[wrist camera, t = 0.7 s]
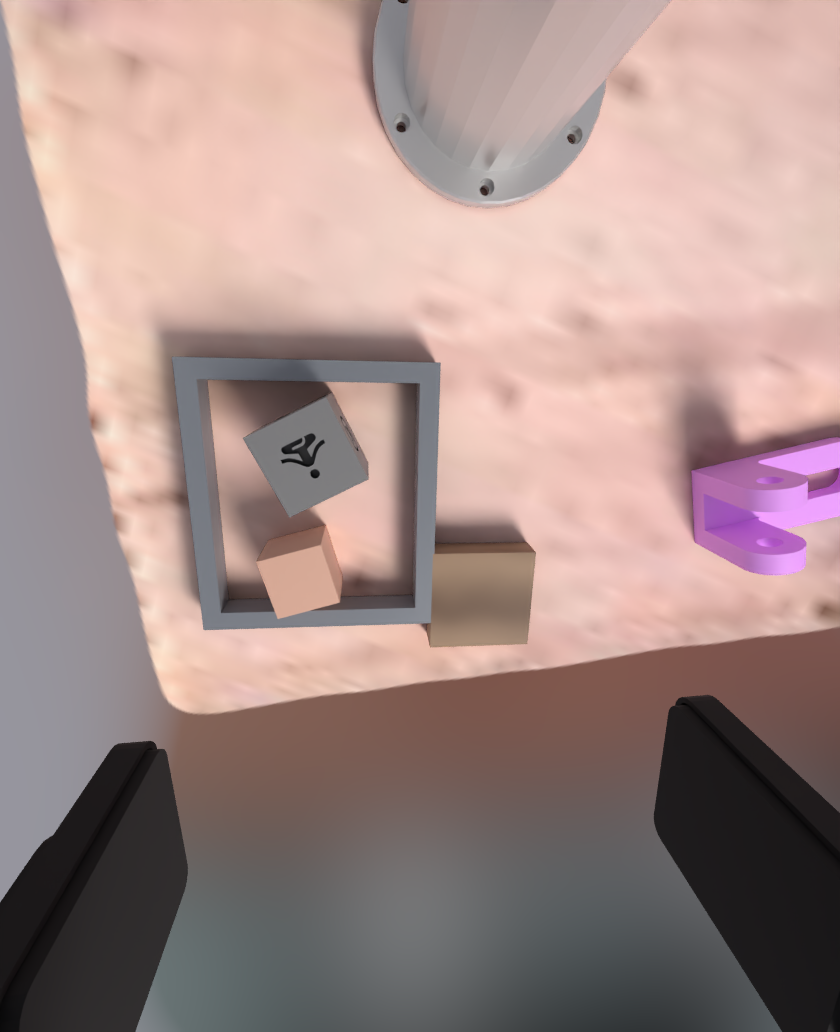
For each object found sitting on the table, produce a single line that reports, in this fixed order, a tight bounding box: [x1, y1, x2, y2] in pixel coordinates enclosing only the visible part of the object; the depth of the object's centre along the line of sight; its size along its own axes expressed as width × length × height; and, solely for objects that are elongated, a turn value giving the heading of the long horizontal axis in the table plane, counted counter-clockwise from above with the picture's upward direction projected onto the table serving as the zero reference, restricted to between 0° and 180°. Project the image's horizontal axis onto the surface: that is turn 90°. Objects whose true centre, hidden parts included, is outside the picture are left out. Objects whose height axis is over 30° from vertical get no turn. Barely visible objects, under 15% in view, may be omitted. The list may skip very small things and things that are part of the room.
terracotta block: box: [256, 525, 343, 619], centre depth 33 cm, size 4×4×4 cm
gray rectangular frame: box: [172, 357, 440, 630], centre depth 32 cm, size 17×15×2 cm
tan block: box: [427, 542, 536, 647], centre depth 35 cm, size 7×7×2 cm
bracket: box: [692, 437, 840, 575], centre depth 33 cm, size 13×6×7 cm, turn 102°
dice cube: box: [243, 392, 368, 518], centre depth 30 cm, size 5×5×5 cm
